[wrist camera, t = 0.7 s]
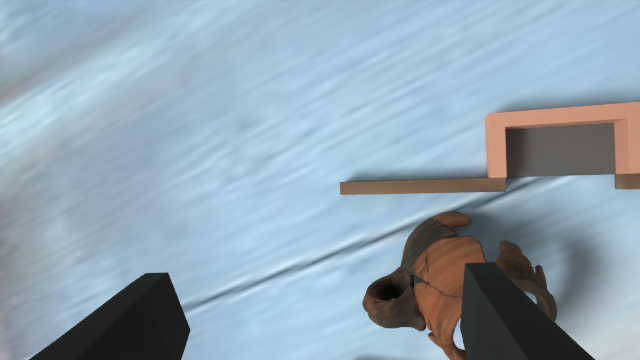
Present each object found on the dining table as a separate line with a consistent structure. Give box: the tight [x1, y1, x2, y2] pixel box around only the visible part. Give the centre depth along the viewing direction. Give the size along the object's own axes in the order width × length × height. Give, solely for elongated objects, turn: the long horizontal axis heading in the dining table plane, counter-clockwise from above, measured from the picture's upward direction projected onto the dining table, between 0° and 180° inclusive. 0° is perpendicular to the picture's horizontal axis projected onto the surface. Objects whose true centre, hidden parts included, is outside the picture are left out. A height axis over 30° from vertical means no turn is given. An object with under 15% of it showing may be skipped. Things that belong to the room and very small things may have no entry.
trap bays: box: [485, 102, 640, 178], centre depth 26 cm, size 25×16×2 cm, turn 2°
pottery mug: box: [362, 212, 557, 360], centre depth 26 cm, size 12×10×8 cm
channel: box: [340, 173, 640, 195], centre depth 25 cm, size 16×32×3 cm, turn 92°
